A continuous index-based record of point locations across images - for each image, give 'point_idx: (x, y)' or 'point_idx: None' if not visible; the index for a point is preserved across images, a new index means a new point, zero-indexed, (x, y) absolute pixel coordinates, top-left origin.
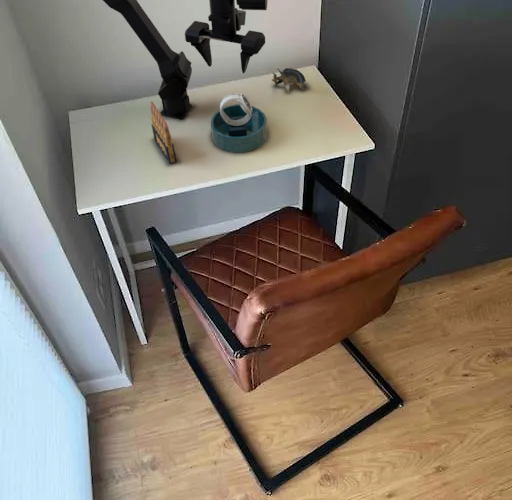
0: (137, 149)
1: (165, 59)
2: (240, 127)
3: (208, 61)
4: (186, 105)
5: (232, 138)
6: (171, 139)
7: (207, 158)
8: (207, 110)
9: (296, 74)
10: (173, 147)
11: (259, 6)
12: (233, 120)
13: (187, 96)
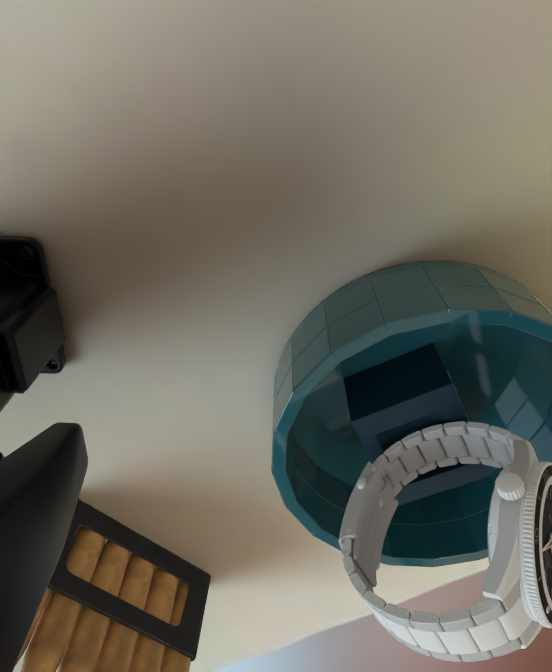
0: None
1: None
2: (453, 471)
3: (53, 564)
4: (42, 356)
5: (437, 564)
6: None
7: (318, 539)
8: (153, 246)
9: None
10: (196, 647)
11: None
12: (403, 448)
13: (8, 347)
